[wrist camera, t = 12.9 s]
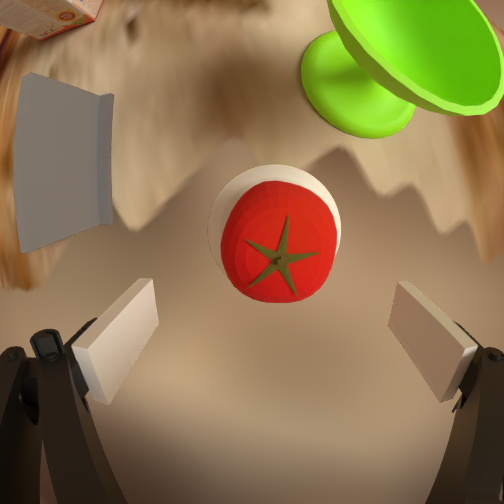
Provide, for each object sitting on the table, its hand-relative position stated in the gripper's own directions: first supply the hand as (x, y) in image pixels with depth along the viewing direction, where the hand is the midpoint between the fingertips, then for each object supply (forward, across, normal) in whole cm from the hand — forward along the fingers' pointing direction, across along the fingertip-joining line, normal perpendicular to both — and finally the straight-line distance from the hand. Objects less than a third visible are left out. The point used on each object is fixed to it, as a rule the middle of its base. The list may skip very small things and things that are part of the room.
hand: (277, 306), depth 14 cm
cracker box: (+22, -33, +38) cm, 55 cm away
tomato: (+20, +1, 0) cm, 20 cm away
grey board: (+21, -23, +10) cm, 33 cm away
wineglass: (+21, +12, +20) cm, 31 cm away
